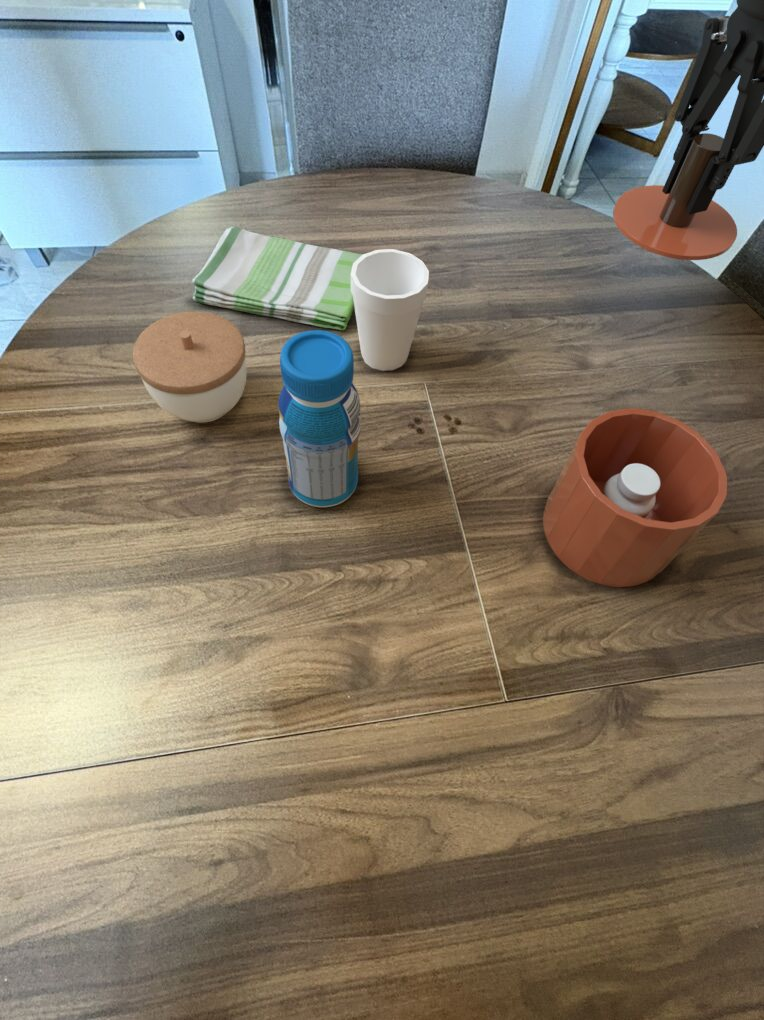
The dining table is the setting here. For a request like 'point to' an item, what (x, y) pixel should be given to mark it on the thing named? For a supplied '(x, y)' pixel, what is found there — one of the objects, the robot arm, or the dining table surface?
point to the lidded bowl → (192, 365)
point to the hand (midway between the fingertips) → (684, 200)
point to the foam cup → (387, 304)
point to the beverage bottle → (319, 417)
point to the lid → (678, 212)
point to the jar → (616, 532)
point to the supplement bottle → (633, 489)
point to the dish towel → (278, 279)
